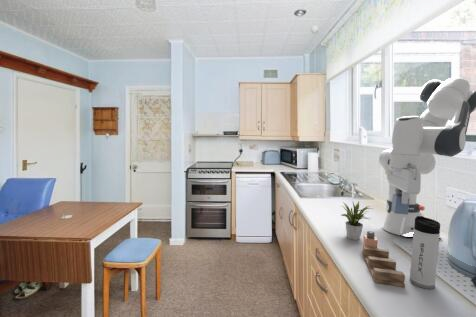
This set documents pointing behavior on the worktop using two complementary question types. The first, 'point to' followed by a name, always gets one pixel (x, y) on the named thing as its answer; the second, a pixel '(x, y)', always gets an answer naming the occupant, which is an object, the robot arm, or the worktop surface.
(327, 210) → the worktop surface
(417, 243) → the travel mug
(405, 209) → the slate plug
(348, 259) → the worktop surface
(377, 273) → the slotted wooden block
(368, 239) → the pink square bottle
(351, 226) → the house plant
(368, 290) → the worktop surface
